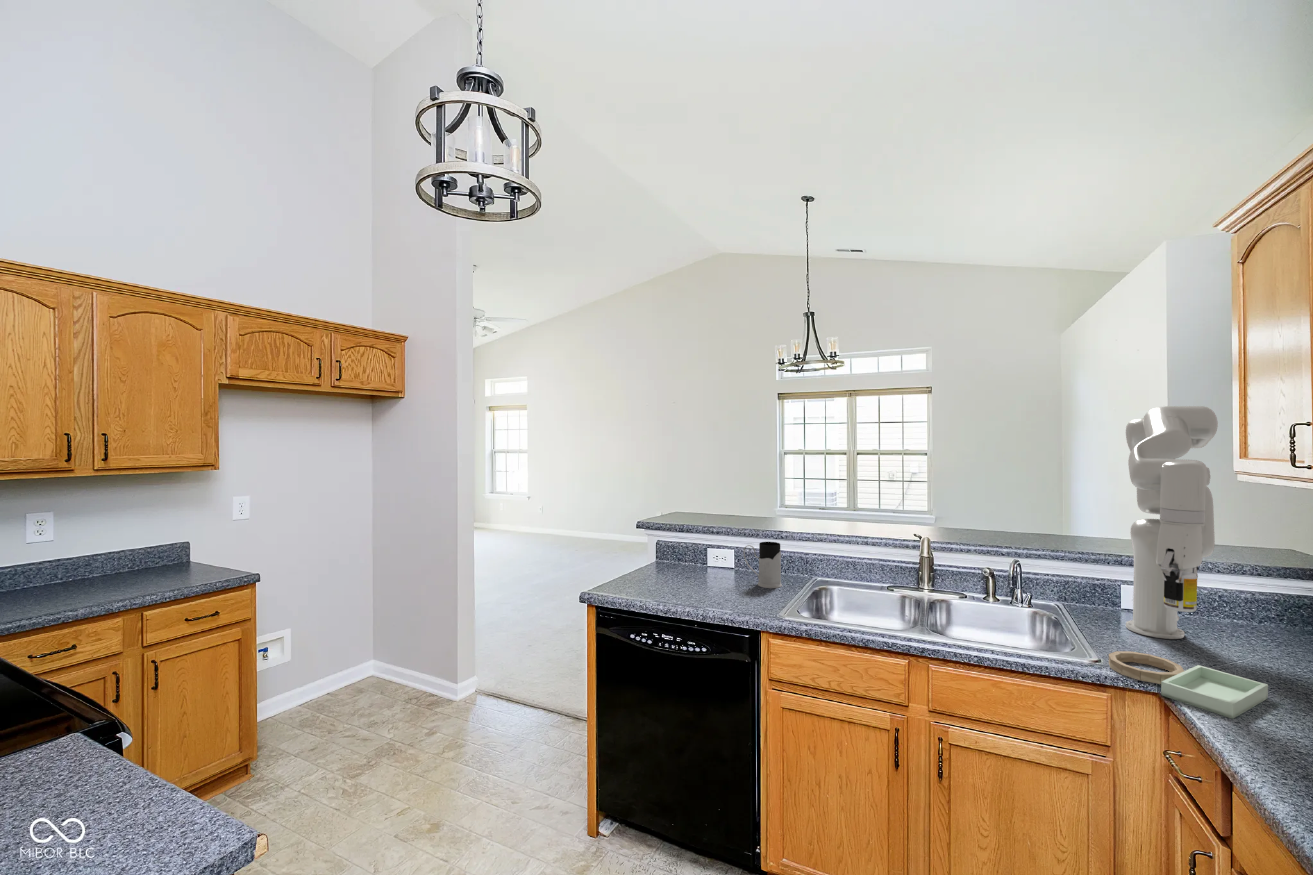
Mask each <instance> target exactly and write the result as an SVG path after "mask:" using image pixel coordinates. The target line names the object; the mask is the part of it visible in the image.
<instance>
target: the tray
mask: <svg viewBox="0 0 1313 875" xmlns="http://www.w3.org/2000/svg"><path fill="white" fill-rule="evenodd" d="M1160 685H1161V688H1160V695H1161V696H1162V697H1164V698H1169V699H1170V700H1174V701H1177V702H1180V703H1183V704H1187V705H1189V706H1193V707H1196V708H1198V709H1200V710H1201V709H1202V710H1205V711H1207V712H1211V713H1214V714H1217V715H1218V716H1219V715H1220V716H1221V717H1222V716H1223V717H1225V718H1229V719H1231V720H1234V719H1235V718H1237V717H1239V716H1241V715H1242V714H1243V713H1245V712H1247V711H1249V710H1250V709H1253V708H1254V707H1256V706H1258V705H1259V704H1260V703H1263V702H1264V701H1266V700H1267V699H1268V698H1269V696H1268V695H1269V684H1267V683H1263V682H1259V681H1256V680H1253V679H1251V678H1250V679H1249V678H1245V677H1242V676H1239V675H1235V674H1231V673H1228V672H1224V671H1221V670H1217V669H1214V668H1210V667H1206V666H1205V665H1204V666H1203V665H1199V664H1197V665H1195V666H1193V667H1191V668H1188V669H1186V670H1184V672H1181V673H1179V674H1177V675H1175V676H1173V677H1170V678H1168V679H1166V680H1164V681H1161V684H1160Z"/></svg>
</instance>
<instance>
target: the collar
mask: <svg viewBox="0 0 1313 875" xmlns="http://www.w3.org/2000/svg"><path fill="white" fill-rule="evenodd" d="M1126 663H1134V664H1135V663H1137V664H1142V665H1148V666H1152V667H1155V668H1159V669H1162V670H1164V669H1165V670H1164V671H1165V672H1164V671H1155V670H1146V669H1141V668H1139V667H1135V666H1131V665H1128V664H1126ZM1108 665H1109V668H1110V669H1111V670H1112V671H1114V672H1117V673H1119V674H1120V675H1122V676H1124V677H1129V678H1132V679H1135V680H1138V681H1143V682H1147V683H1152V684H1153V683H1154V684H1158V685H1161V681H1164V680H1166V679H1168V678H1170V677H1173V676H1175V675H1177V674H1179V673H1181V672H1184V671H1185V670H1184V668H1183V667H1182V665H1180V664H1178V663H1176V662H1174V661H1172V660H1170V659H1168V658H1165V657H1164V658H1163V657H1161V656H1157V655H1153V654H1150V653H1143V652H1137V651H1132V650H1131V651H1130V650H1128V651H1127V650H1126V651H1124V650H1120V651H1118V650H1117V651H1114V652H1113V651H1112V652H1110V653H1108ZM1166 670H1168V671H1169V672H1168V671H1166Z"/></svg>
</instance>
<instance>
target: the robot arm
mask: <svg viewBox="0 0 1313 875" xmlns="http://www.w3.org/2000/svg"><path fill="white" fill-rule="evenodd" d="M1218 423H1219V422H1218V417H1217V415H1216V413H1215V412H1214V411H1213V410H1212V409H1211V408H1210V407H1207V406H1205V405H1182V406H1181V405H1178V406H1177V405H1175V406H1169V405H1167V406H1165V405H1164V406H1158V407H1154V408H1151V409H1150V410H1148V411H1147V412H1146V413H1145V415H1143V417H1142V418H1136V419H1132V420H1130V421H1129V422H1128V423H1127V425H1126V427H1125V440H1126V443H1127V446H1128V449H1129V451H1130V453H1129V454H1128V462H1127V463H1128V472H1129V479H1130V482H1131V483H1132V485H1133V486H1134V487H1135V488H1136V503H1137V507H1138V509H1139V510H1140V511H1141V512H1143V513H1146V514H1150V515H1151V514H1152V515H1159V518H1142V519H1138V520H1136V521H1134V522H1133V523H1132V524H1131V526H1130V539H1131V544H1132V553H1133V587H1132V588H1133V591H1132V592H1133V599H1132V600H1133V602H1132V620H1131V619H1130V620H1127V621H1126V622H1125V627H1126V628H1127V629H1128V630H1129V631H1131V632H1134V633H1136V634H1139V635H1143V636H1146V637H1147V636H1148V637H1151V638H1157V639H1164V640H1165V639H1166V640H1180V639H1183V638H1184V637H1185V631H1184V630H1183V629H1181V628H1178V621H1179V620H1180V616H1179V615H1178V611H1176V610H1172V609H1169V608H1167V607H1165V606H1164V597H1165V598H1167V599H1171V600H1176V601H1182V600H1183V583H1181V579H1182V574H1183V570H1185V569H1189V568H1193V570H1192V571H1193V572H1192V573H1194V574H1196V575H1197V579H1198V577H1199V575H1198V571H1199V566H1201V565H1202V563H1203V558H1207V557H1210V556H1212V555H1213V552H1214V551H1215V544H1216V543H1215V514H1214V499H1213V494H1212V491H1211V489H1210V488H1209V485H1210V481H1211V471H1210V468H1209V467H1208V466H1207V465H1206V464H1205V463H1204V462H1202V461H1200V460H1197V459H1184V458H1183V459H1181V458H1182V457H1183V456H1185V455H1187V453H1188V452H1189V451H1190V450H1191V449H1201V448H1204V447H1205V446H1207V445H1208V444H1209V443H1210V442H1211V440H1213V438H1215V436H1216V434H1217V431H1218V427H1219V426H1218ZM1179 458H1180V459H1179ZM1172 565H1176V566H1177V567H1178V568H1175V567H1171V566H1172ZM1174 571H1177V576H1176V574H1175V572H1174Z"/></svg>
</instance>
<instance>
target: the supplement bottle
mask: <svg viewBox="0 0 1313 875" xmlns="http://www.w3.org/2000/svg"><path fill="white" fill-rule="evenodd" d="M1171 567H1175V568H1178V567H1177V566H1176V565H1172V566H1171ZM1192 570H1193V568H1189V569H1185V570H1183V574H1182V579H1181V583H1183V600H1182V601H1176V600H1171V599H1167V598H1165V597H1164V606H1165V607H1167V608H1169V609H1172V610H1176V611H1177V612H1181V613H1183V612H1184V613H1185V612H1186V613H1194V612H1196V611H1197V608H1198V607H1197V606H1198V598H1197V597H1198V578H1197V575H1196V574H1194V573H1192V572H1193V571H1192ZM1174 572H1175V574H1176V576H1177V571H1174Z"/></svg>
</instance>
